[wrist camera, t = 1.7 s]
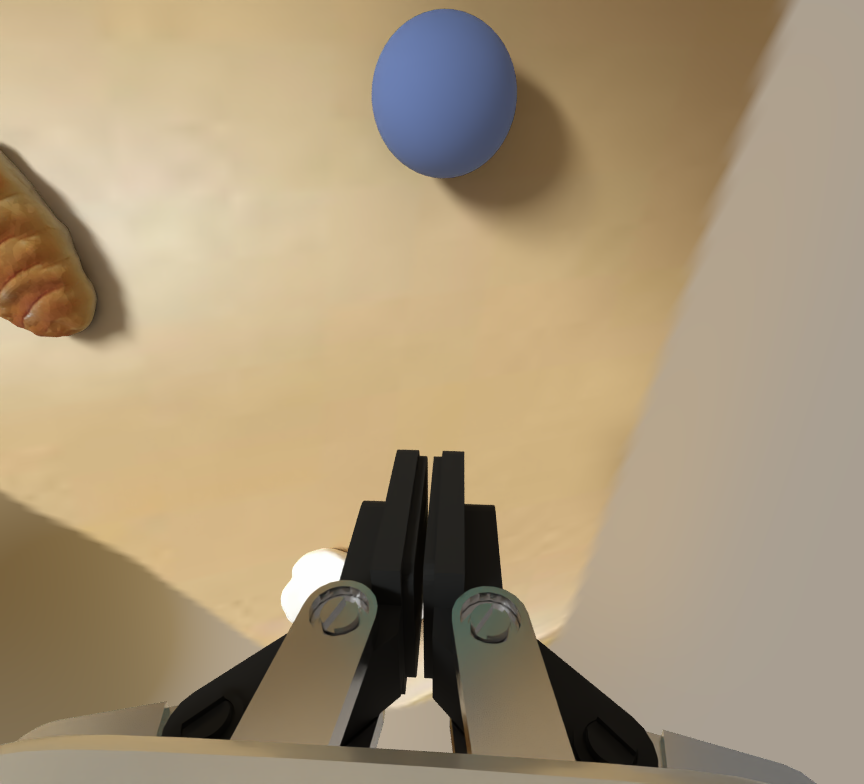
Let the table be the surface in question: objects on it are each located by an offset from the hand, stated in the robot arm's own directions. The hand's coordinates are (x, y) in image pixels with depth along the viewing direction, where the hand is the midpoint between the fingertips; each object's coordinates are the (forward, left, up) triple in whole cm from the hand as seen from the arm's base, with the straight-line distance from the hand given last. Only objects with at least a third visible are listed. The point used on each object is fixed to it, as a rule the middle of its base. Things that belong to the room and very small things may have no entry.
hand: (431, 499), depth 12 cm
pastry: (-15, -17, -15) cm, 27 cm away
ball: (-8, +5, -12) cm, 15 cm away
